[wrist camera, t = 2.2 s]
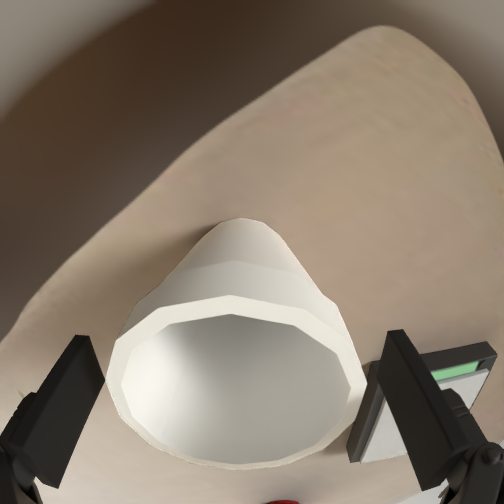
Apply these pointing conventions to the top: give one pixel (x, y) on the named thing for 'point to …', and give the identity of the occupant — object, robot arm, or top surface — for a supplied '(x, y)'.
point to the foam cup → (237, 357)
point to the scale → (446, 375)
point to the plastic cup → (284, 502)
